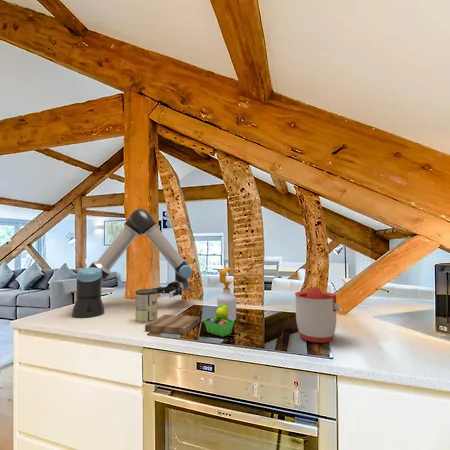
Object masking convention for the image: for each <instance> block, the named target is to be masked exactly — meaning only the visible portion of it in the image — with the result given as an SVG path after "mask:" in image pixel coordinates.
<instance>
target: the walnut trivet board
mask: <svg viewBox="0 0 450 450" xmlns="http://www.w3.org/2000/svg"><path fill="white" fill-rule="evenodd" d="M200 317H201V316H194V315H193V316H192V315H179V314H162V315H160V316H159V317H157V319H155V320H153V321H152V322H150V323H145V324H144V332H150V333H160V332H163V333H162V334H171V333H172V334H173V335H186V334H188V332H190V331H191V330H192V329H194V328H195V327H196V326H198V324H199V323H200V322H201V321H200V320H201V319H200ZM172 334H171V335H172Z"/></svg>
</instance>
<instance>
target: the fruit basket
mask: <svg viewBox="0 0 450 450" xmlns="http://www.w3.org/2000/svg"><path fill="white" fill-rule="evenodd" d="M215 314H216V316H211V317H208V318H205V319H203V323H204V324H205V328H206V332H207V333H208V334H212V335H216V336H220V337H225V336H226V337H227V336H228V335H231V334H232V331H233V327H234V324H235V320H234V321H233V320H229V319H227V318H228V307H227V305H226V304H222V305H221V306H220V308H218V309H216V310H215Z"/></svg>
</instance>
